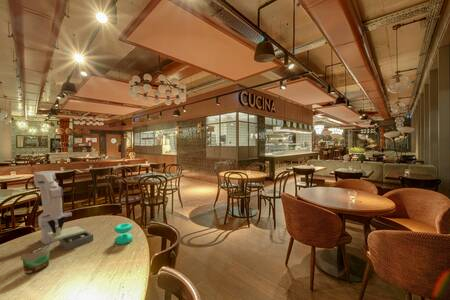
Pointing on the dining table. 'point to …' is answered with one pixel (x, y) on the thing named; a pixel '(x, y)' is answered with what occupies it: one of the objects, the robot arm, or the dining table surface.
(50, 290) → the dining table surface
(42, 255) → the food container
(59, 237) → the lid
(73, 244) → the tub
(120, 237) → the donuts
